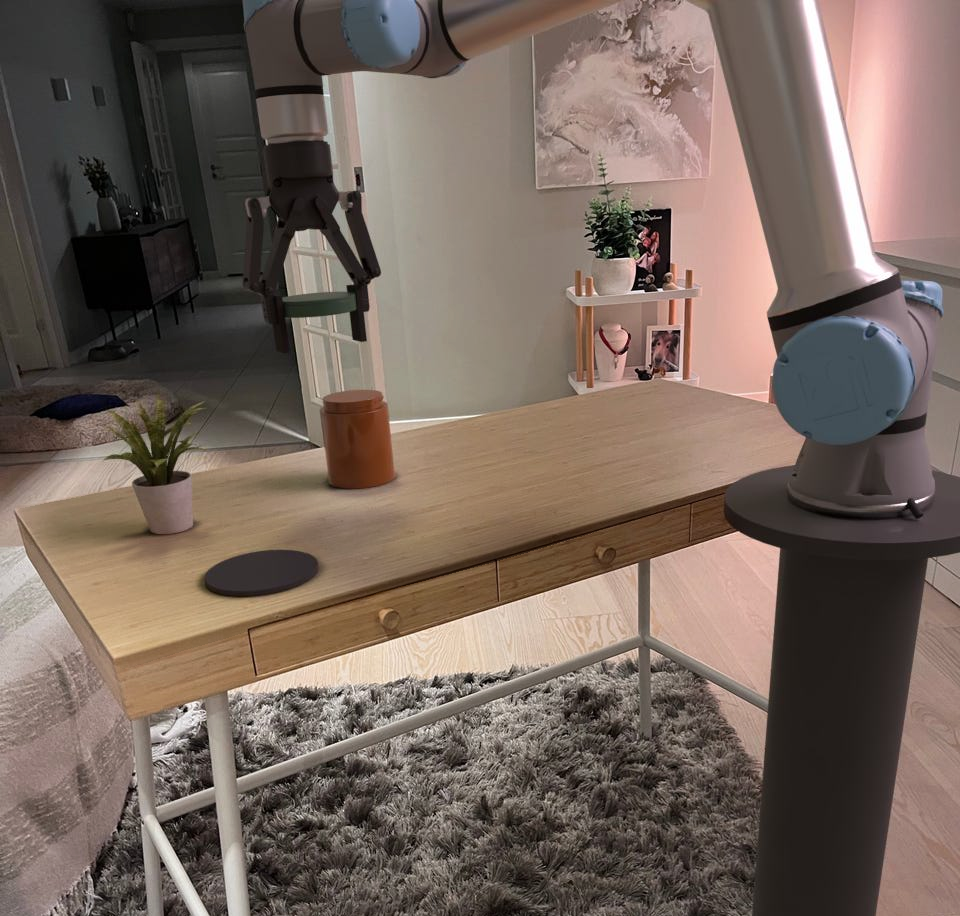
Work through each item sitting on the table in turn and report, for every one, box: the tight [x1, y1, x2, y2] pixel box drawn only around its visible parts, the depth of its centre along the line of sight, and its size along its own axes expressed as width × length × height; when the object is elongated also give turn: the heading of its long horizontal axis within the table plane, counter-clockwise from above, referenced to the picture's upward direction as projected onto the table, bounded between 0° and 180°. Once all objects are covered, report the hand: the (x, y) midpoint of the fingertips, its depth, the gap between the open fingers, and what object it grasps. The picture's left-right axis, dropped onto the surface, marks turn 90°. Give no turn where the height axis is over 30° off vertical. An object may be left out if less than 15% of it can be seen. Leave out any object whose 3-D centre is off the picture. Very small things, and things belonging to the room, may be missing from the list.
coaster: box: [204, 549, 320, 597], centre depth 104 cm, size 12×12×1 cm
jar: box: [319, 389, 396, 490], centre depth 133 cm, size 9×9×12 cm
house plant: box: [100, 393, 209, 535], centre depth 117 cm, size 14×14×16 cm
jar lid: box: [282, 291, 357, 319], centre depth 117 cm, size 10×9×2 cm
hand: (322, 346), depth 119 cm, fingers closed on jar lid, 9 cm apart
